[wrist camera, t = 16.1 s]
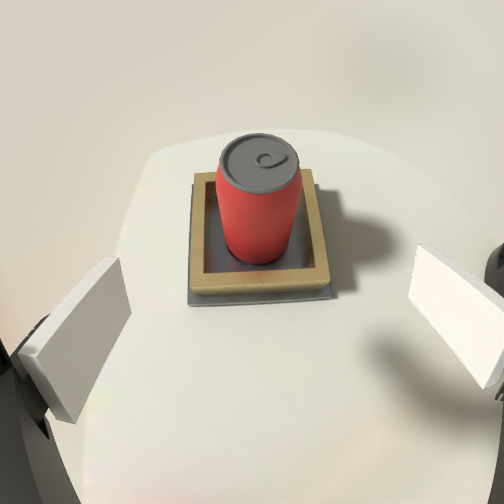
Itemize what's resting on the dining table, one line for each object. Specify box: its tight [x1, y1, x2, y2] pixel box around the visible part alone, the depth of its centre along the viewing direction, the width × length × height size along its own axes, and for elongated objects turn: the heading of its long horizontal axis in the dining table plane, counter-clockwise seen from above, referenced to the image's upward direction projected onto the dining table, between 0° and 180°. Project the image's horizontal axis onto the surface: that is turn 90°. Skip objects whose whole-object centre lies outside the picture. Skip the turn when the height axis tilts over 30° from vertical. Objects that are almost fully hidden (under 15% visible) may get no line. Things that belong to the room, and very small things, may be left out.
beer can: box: [215, 133, 302, 264], centre depth 26 cm, size 7×7×12 cm
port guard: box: [188, 169, 332, 306], centre depth 30 cm, size 14×14×4 cm
